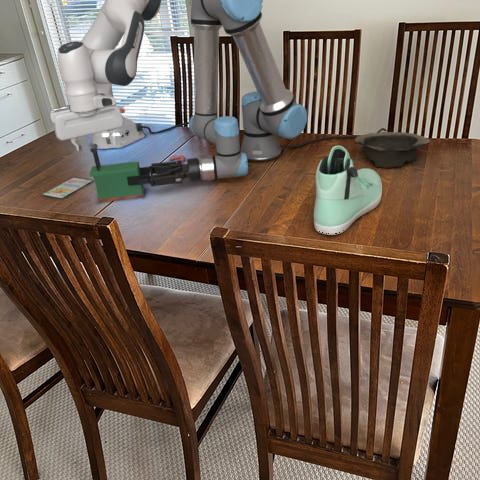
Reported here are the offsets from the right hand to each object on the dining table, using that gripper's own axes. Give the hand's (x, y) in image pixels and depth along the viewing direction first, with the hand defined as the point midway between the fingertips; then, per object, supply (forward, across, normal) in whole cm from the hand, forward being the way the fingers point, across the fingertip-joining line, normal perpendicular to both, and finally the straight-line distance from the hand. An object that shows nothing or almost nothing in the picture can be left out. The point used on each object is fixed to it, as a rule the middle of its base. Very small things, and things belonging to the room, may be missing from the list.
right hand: (128, 177), depth 154 cm
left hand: (+8, 0, +11) cm, 14 cm away
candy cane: (-13, +21, -6) cm, 26 cm away
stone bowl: (-89, +6, -6) cm, 89 cm away
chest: (+3, 0, -6) cm, 7 cm away
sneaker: (-64, -26, -6) cm, 70 cm away
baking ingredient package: (+23, +11, -6) cm, 26 cm away
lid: (+4, 0, +3) cm, 5 cm away
